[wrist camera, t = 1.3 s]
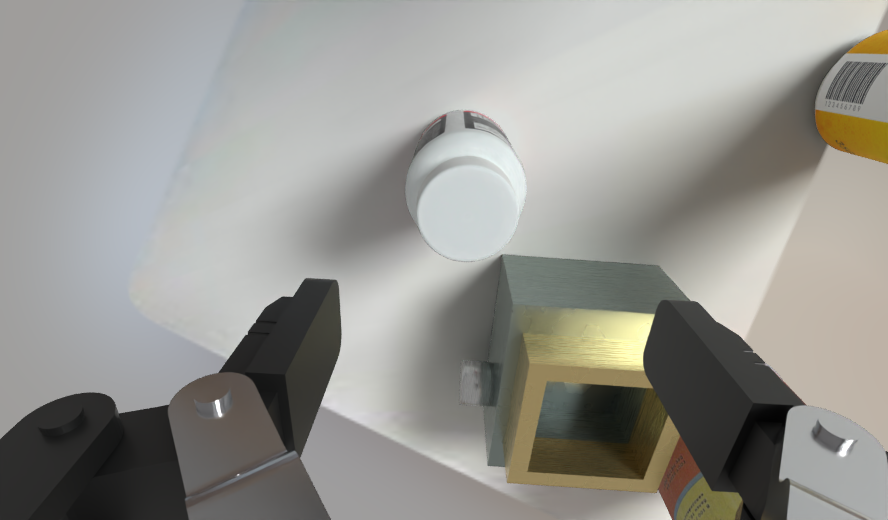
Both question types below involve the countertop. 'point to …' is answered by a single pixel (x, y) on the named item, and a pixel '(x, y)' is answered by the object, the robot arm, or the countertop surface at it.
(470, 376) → the gold grey hollow block
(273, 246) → the countertop surface
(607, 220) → the countertop surface
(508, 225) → the pill bottle
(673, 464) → the canned food
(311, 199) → the countertop surface
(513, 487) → the countertop surface
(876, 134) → the beer can
